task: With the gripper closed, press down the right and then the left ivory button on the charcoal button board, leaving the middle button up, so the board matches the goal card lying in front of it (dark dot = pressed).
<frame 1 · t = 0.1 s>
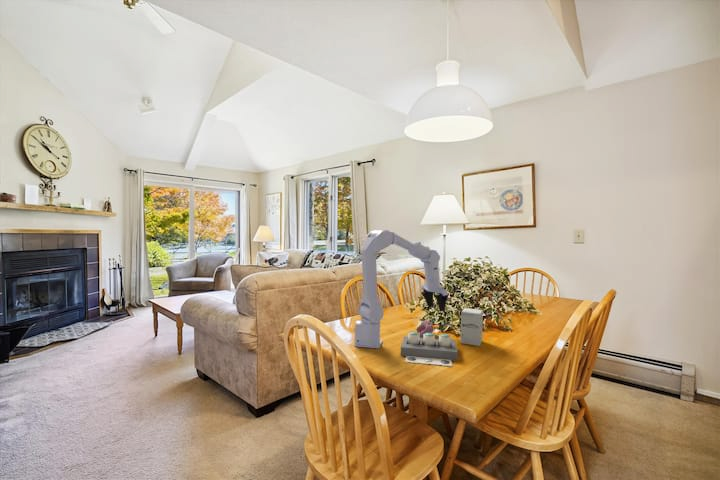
hand: (436, 308, 140), 11 cm above the table, tool pointing down, fingers open, 7 cm apart
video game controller: (424, 335, 138), on the table
button board: (428, 351, 119), on the table
goal card: (428, 361, 110), on the table
button middle: (429, 340, 118), point 4 cm above the table, slide at 0.0 cm
supplement box: (471, 342, 129), on the table
button right: (444, 341, 117), point 4 cm above the table, slide at 0.0 cm
button left: (413, 338, 120), point 4 cm above the table, slide at 0.0 cm
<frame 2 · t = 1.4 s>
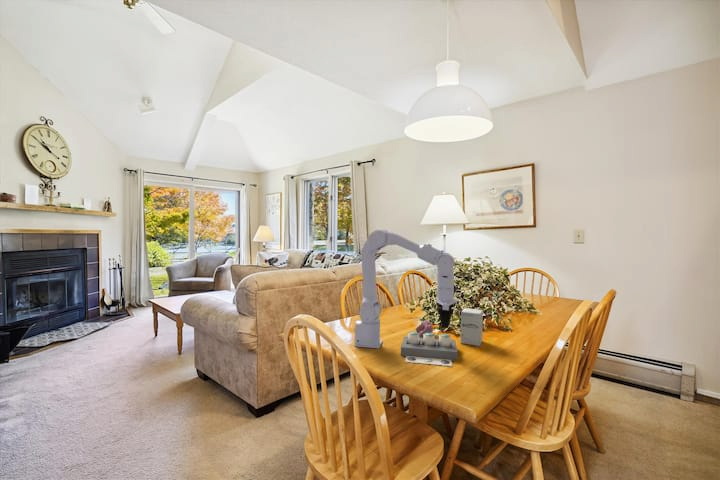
hand: (444, 325, 117), 10 cm above the table, tool pointing down, fingers open, 5 cm apart
nothing on the table moved.
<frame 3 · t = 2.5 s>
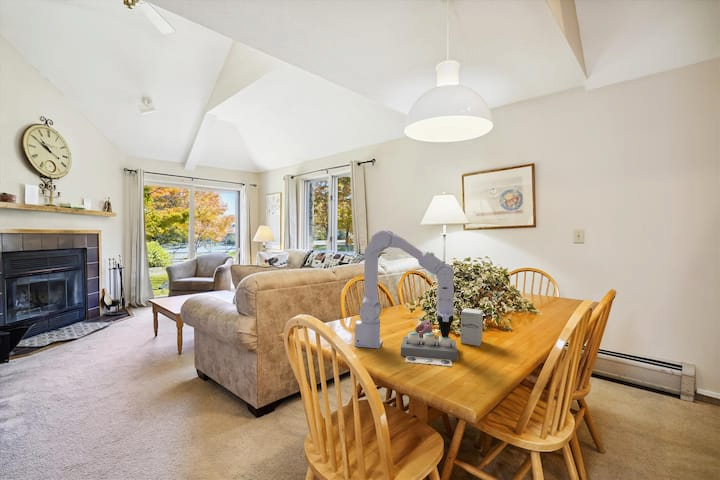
hand: (444, 336, 117), 6 cm above the table, tool pointing down, fingers closed, pressing on button right
button right: (444, 342, 117), point 4 cm above the table, slide at 0.4 cm, touching gripper
everything else where it was.
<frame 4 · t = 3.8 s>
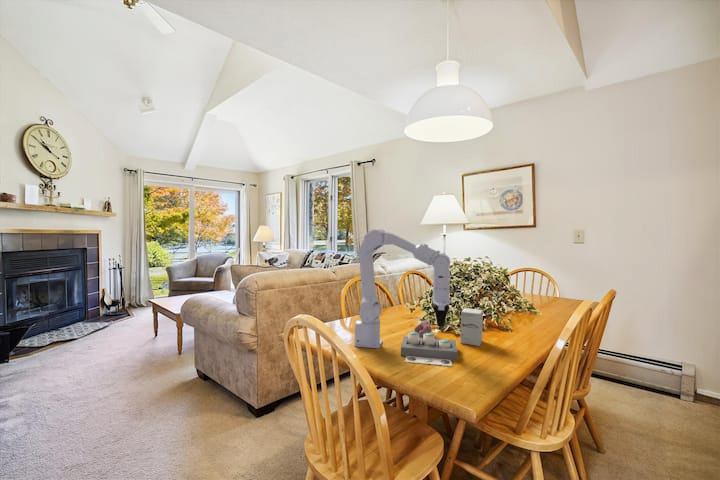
hand: (440, 325, 117), 10 cm above the table, tool pointing down, fingers closed
button right: (444, 346, 117), point 2 cm above the table, slide at 2.0 cm
everything else where it was.
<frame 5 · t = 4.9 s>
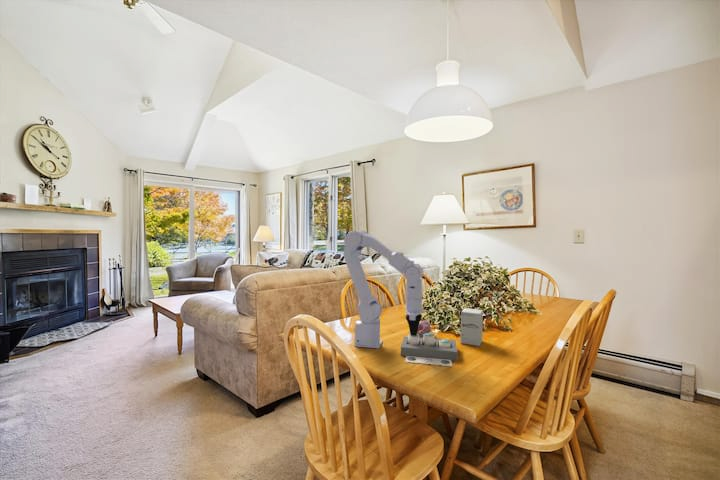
hand: (413, 335, 120), 6 cm above the table, tool pointing down, fingers closed, pressing on button left
button left: (413, 340, 120), point 4 cm above the table, slide at 0.6 cm, touching gripper
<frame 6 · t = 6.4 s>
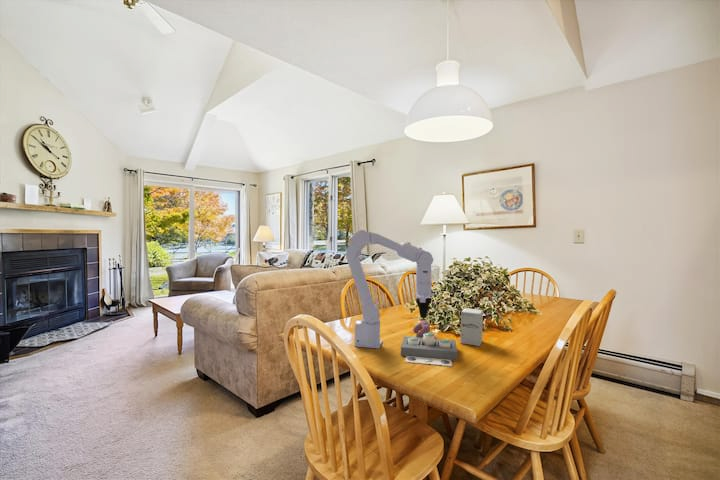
hand: (423, 317, 126), 10 cm above the table, tool pointing down, fingers closed
button left: (413, 344, 120), point 2 cm above the table, slide at 2.0 cm
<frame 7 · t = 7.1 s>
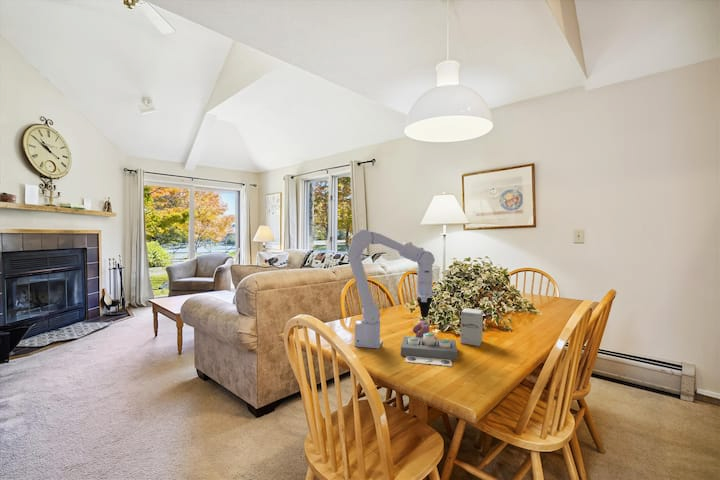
hand: (424, 316, 127), 10 cm above the table, tool pointing down, fingers closed
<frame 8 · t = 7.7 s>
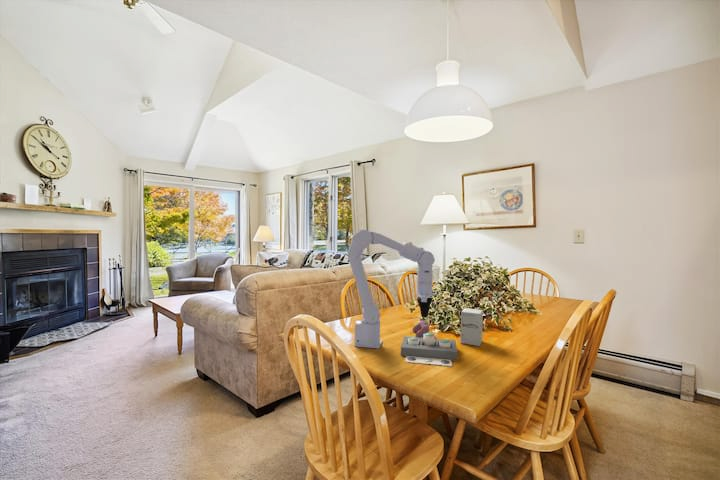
hand: (424, 316, 127), 10 cm above the table, tool pointing down, fingers closed
at the end: button right slide at 2.0 cm; button left slide at 2.0 cm; button middle slide at 0.0 cm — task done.
